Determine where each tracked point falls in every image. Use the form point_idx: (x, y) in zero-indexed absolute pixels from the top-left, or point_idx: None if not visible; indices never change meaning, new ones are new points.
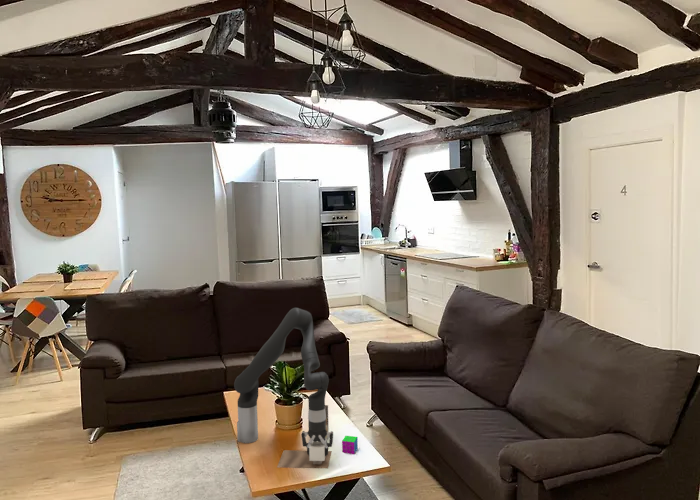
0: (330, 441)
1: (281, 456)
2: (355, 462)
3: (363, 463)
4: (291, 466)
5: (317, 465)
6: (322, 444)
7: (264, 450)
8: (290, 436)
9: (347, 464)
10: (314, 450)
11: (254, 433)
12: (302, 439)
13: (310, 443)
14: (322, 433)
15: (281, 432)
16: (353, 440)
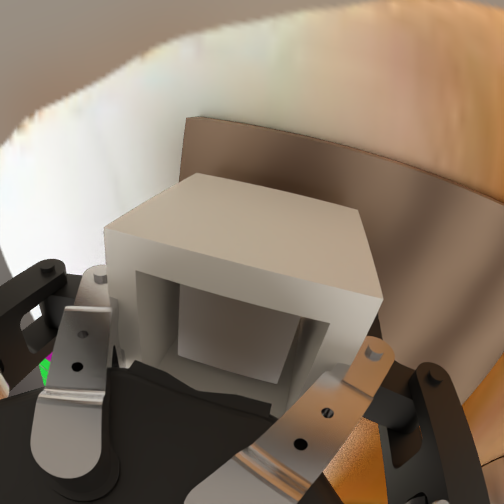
0: (6, 299)
1: (492, 366)
2: (53, 225)
3: (26, 208)
4: (494, 222)
5: (278, 184)
6: (172, 366)
7: (498, 423)
8: (360, 486)
9: (83, 209)
10: (287, 245)
11: (492, 488)
12: (470, 457)
13: (342, 381)
14: (10, 466)
15: (380, 498)
16: (45, 367)
